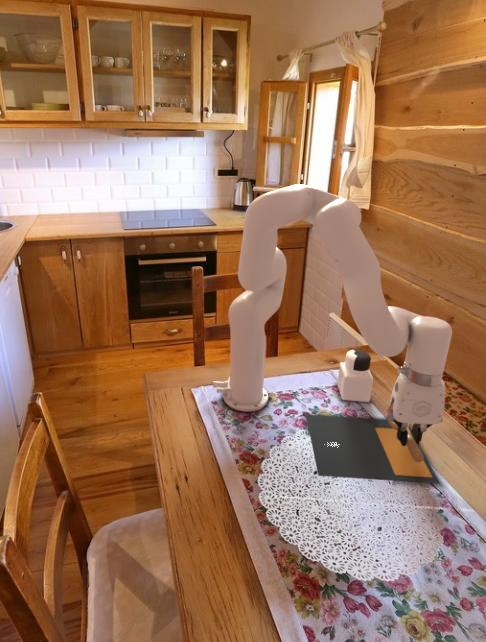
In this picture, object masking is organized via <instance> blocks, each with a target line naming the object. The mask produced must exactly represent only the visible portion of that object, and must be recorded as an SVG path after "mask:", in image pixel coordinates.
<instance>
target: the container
mask: <svg viewBox="0 0 486 642" xmlns="http://www.w3.org/2000/svg"><path fill="white" fill-rule="evenodd" d="M371 360H372V357H371V356H370V354H369V353H367V352H366V351H363V350H361V349H351V350H349V351H347V352H346V355H345V361H344V362H340V363H339V369H338V375H337V376H338V377H337V382H336V383H337V387H338V391H339V394H340V395H339V396H340V398H341V400H342V401H352V402H354V401H355V402H364V403H365V402H366V403H367V402H368V403H369V402H370V401H371V397H372V396H371V395H372V391H373V386H374V377H373V375H372V373H371V370H370V367H371V362H372V361H371Z"/></svg>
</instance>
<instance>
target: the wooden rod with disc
mask: <svg viewBox="0 0 486 642" xmlns="http://www.w3.org/2000/svg"><path fill="white" fill-rule="evenodd" d="M388 423H389V425H390V426H391V427H392V428H393V429H395V430H398V426H397V425H396V424H395V423H394V422H392V421H388ZM410 424H411V423H408V426H407V431H408V437H407V442H406V446H407V448H408V450H409V452H410V454H411V456H412V457H413V459H414V461H416V462H422V461H423V459H424V456H423V454H422V452H421V451H420V449H419V447H418V445H417V443H416V441H415V440H414V438H413V436H412V434H411V432H410V430H409V427H410Z"/></svg>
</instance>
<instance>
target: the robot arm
mask: <svg viewBox="0 0 486 642" xmlns="http://www.w3.org/2000/svg"><path fill="white" fill-rule="evenodd" d="M300 221H302V222H306V223H307V224H310V225H313V227H314V231H315V233H316V235H317V237H318V239H319V241H320V242H321V244H322V246H323V248H324V250H325V252H326V253H327V255H328V257H329V259H330V261H331V263H332V264H333V266H334V268H335V270H336V272H337V274H338V276H339V278H340V279H341V282H342V286H343V292H344V295H345V298H346V302H347V305H348V308H349V311H350V314H351V317H352V319H353V321H354V323H355V325H356V327H357V329H358V331H359V333H360V335H361V337H362V338H363V339H364V341H365V344H366V345H367V346H368V347H369V348H370V350H372V351H373V352H374V353H376V354H377V355H379V356H382V357H386V358H391V357H392V358H393V357H396V356H398V355H400V354H401V353H402V352H403V351H404V350H405V349H406V353H405V359H404V362H403V363H402V365H401V366H398V367H396V372H397V374H398V376H397V378H396V380H395V383H394V385H393V388H392V392H391V395H390V398H389V399H390V400H389V404H388V405H389V406H388V408H387V409H386V410H385V412H384V413H383V414H384V418H385V420H389V421H392V422H394V423H395V424H396V425H397V426H398V430H397V439H398V440H400V442H401V445H402V446H406V442H407V437H408V431H407V426H408V423H410V424H412V426H411V434H412V436H413V438H414V440H415V441H416V443H417V445H418V447H419V446H420V442H422V438H423V434H425V433H426V432H427V430H428V428H430V427H432V426H433V425H439V424H441V423H442V422H443V421H444V420H443V417H444V411H445V405H446V383H445V381H444V380H443V376H444V371H445V368H446V367H445V366H446V362H447V358H448V354H449V349H450V345H451V340H452V336H453V328H452V326H451V325H450V324H449V323H448V322H447V321H446V320H444V319H441V318H438V317H433V316H427V315H426V316H425V315H421V314H418V313H414V312H412V311H411V310H410V311H409V310H408V309H404V308H402V307H398V306H393V305H392V306H391V305H390V306H388V304H387V302H386V299H385V296H384V293H383V288H382V279H381V276H382V275H381V267H380V261H379V260H378V258H377V256H376V254H375V253H374V251H373V249H372V247H371V245H370V244H369V241H368V240H367V238H366V236H365V234H364V233H363V230H362V228H361V227H360V225H361V223H362V212H361V210H360V208H359V206H358V205H357V204H356V203H355V202H354V201H353V200H351V199H348V198H346V197H343V196H340V195H336V194H333V193H330V192H327V191H324V190H322V189H318V188H315V187H313V186H309V185H305V184H292V185H289V186H284V187H281V188H277V189H274V190H271V191H268V192H265V193H263V194H261V195H259V196H257V197H255V198H254V199H253V201H251V202H250V203H249V205H248V207H247V209H246V211H245V215H244V219H243V229H242V230H243V231H242V240H241V246H240V254H239V261H238V268H237V278H238V279H237V280H238V282H239V284H240V286H241V287H242V288H243V289H244V290H245V291H243V292H242V293H240V294H239V295H238V296H237V297H235V298H234V300H232V302H231V304H230V306H229V309H228V313H227V314H228V315H227V317H228V324H229V330H230V343H229V344H230V346H229V374H228V375H229V376H228V379H227V380H224V381H219V380H213V383H212V388H213V389H216V393H219V394H222V398H223V401H224V402H225V404H226V405H227V406H228V407H230V408H231V409H234V410H235V411H240V412H246V413H247V412H255V411H259V410H261V409H264V407H265V406H266V405H267V404H268V402H269V392H268V391H267V389H266V388H264V382H265V368H266V355H267V353H266V352H267V336H266V332H265V331H266V330H265V326H266V323H267V321H268V320H269V319H271V317H272V316H273V315H275V314H276V312H277V311H278V310H279V308H280V307H281V304H282V301H283V295H284V288H285V283H286V277H287V270H288V264H287V258H286V256H285V254H284V253H283V251H282V250H281V249H280V248H278V240H279V238H278V237H279V236H278V230H279V229H280V228H282V227H286V226H291V225H293V224H295V223H297V222H300ZM406 346H407V348H406Z"/></svg>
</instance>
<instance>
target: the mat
mask: <svg viewBox="0 0 486 642" xmlns="http://www.w3.org/2000/svg"><path fill="white" fill-rule="evenodd" d="M305 419H306V423H307V427H308V432H309V437H310V443H311V446H312V452H313V456H314V460H315V466H316V471H317V475H318V476H319V477H320V476H321V477H335V478H350V479H366V480H378V481H379V480H380V481H395V482H408V483H409V482H411V483H424V484H436V485H437V484H438V485H439V484H441V482H440V480H439V479H438V477H437V475H436V473H435V471H434V469H433V468H432V466H431V464H430V462H429V460H428V459H427V456H426V455H425V453H424V451H423V449H422V447H421V445H419V449H420V451H421V452H422V454H423V456H424V459H423V461H422V462H416V461H414V459H413V457H412V456H411V454H410V452H409V450H408V448H407V446H402V445H401V442H400V440H398V439H397V430H395V429H393V428H392V427H391V426H390V425H389V423H388V421H389V420H387V419H386V418H385V419H384V418H365V417H352V416H351V417H349V416H336V415H335V416H333V415H320V414H319V415H317V414H316V415H315V414H305ZM409 430H410V432H411V431H412V428H411V427H410V426H409ZM327 442H328V443H329V444H330V445H331V443H332V442H334V443H335V442H337V445H338V444H340V445H338V446H339V447H338V446H335V447H334V446H333V445H334V443H332V444H333V445H332V446H333V447H332V446H330V445H329V444H328V443H327ZM330 442H331V443H330ZM324 444H325V445H324ZM327 444H328V445H329V446H328V445H327ZM335 444H336V443H335ZM327 446H328V447H327ZM337 447H338V448H337Z"/></svg>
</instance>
